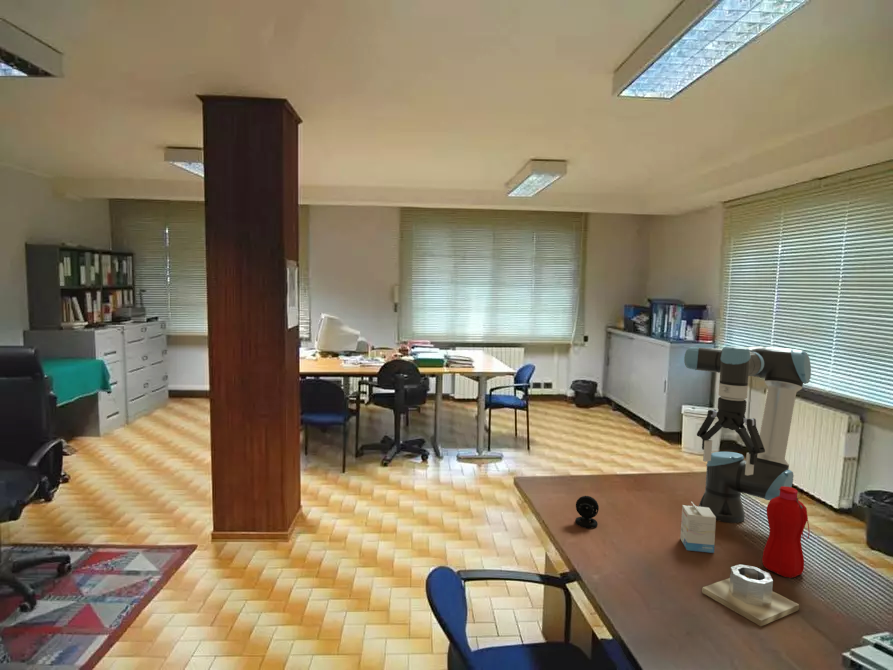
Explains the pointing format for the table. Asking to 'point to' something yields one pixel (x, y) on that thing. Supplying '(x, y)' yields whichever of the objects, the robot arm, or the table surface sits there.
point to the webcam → (587, 512)
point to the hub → (751, 586)
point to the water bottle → (785, 534)
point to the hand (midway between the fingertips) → (727, 467)
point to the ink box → (698, 528)
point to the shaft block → (752, 612)
